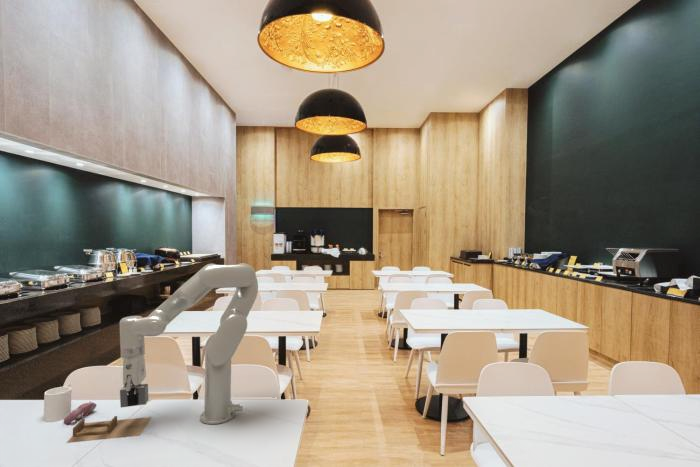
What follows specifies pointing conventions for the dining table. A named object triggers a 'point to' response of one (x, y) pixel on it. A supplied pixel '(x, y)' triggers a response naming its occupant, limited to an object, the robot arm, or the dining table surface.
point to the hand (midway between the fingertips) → (134, 402)
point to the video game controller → (80, 412)
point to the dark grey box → (142, 395)
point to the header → (108, 429)
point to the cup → (57, 403)
